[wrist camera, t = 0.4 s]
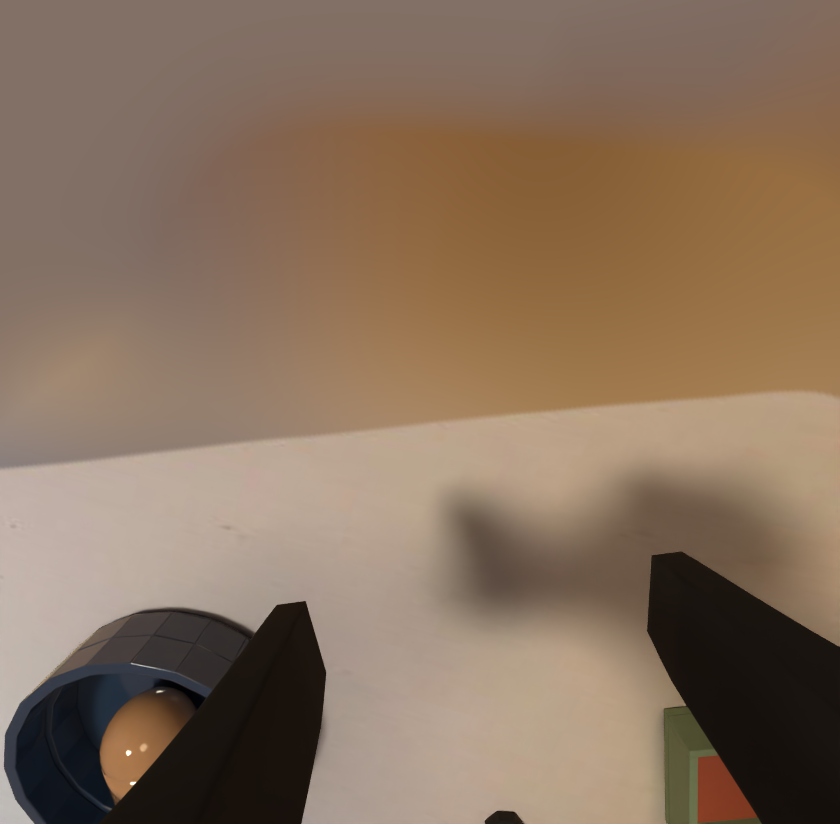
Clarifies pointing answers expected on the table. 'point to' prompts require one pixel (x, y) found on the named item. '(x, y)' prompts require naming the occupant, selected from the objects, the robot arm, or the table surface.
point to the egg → (141, 735)
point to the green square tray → (698, 777)
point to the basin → (105, 706)
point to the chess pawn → (504, 818)
